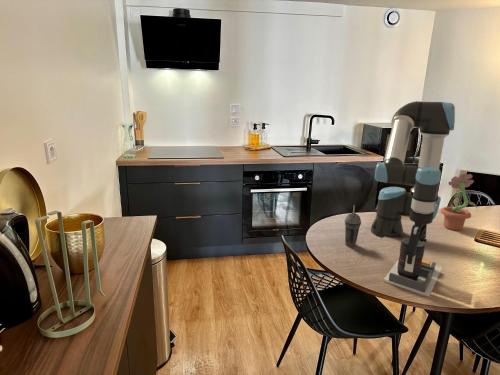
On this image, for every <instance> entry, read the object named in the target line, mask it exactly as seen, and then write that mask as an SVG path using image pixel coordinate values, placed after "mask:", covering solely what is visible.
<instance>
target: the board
mask: <svg viewBox="0 0 500 375" xmlns="http://www.w3.org/2000/svg"><path fill="white" fill-rule="evenodd" d="M398 260H399V258H398V259H397V261H396V262H395V263H394V265H393V266H392V267H391V269H390V270H389V272H387V274H386V276H385V277H384V278H383V282H384V283H387V284H390V285H394V286H396V287H399V288H402V289H405V290H408V291H411V292H413V293H417V294H418V295H419V294H420V295H422V296H424V297H428V298H430V297H431V295H432V293H433V289H434V286H436V282H437V280H438V278H439V276H440V274H441V271H442V269H443V267H442V266H439V265H436V264H437V263H436V262H435V261H432V263H431V264H430V266H429V265H425V264H422V263H421V270H420V274H419V277H418V278H417V281H415V280H412V279H409V278H406V277H403V276H400V275H398V262H399V261H398Z"/></svg>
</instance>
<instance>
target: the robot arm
mask: <svg viewBox="0 0 500 375" xmlns="http://www.w3.org/2000/svg"><path fill="white" fill-rule="evenodd" d="M455 106H456V105H454V103H452V102H445V101H417V100H416V101H411V102H408V103H406V104H405V105H403V106H401V107H399V109H398V110H397V111H396V112H395V113H394V114H393V116H392V118H391V121H390V127H391V130H390V135H389V139H388V143H387V148H386V150H385V154H384V159H383V162H377V164H376V166H375V171H374V180H375V181H377V182H381V183H385V184H394V185H402V186H409V187H410V186H411V187H412V188H410V192H407V190H406V188H404V187H399V186H389V187H384V188H382V189H381V190H380V191H379V195H378V198H377V199H378V200H377V201H378V202H377V208H376V209H377V210H376V216H375V218H374V220H373V222H372V223H371V227H370V232H371V233H372V234H373V235H375V236H377V237H380V238H384V237H387V238H402V237H403V235H404V229H403V228H404V227H403V223H402V217H408V218H409V220H410V221H411V222H413V223H414V224H412V227H411V231H410V237H409V238H410V239H409V243H408V247H407V251H406V252H405V253H404V254H406V255H407V256H406V262H405V268H404V270H405V271H409V272H413V267H414V261H415V256H416V255H415V253H416V249H417V246H418V242H419V241H422V242H423V243H424V244H425V243H427V225H429V224H432V223H433V220H434V219H435V218H436V216H437V214H438V210H439V207H440V204H441V200H442V199H441V197H440V196H439V186H440V182H441V174H442V172H441V170H440V166H441V159H442V155H443V154H442V153H443V148H444V141H445V138H447V137H448V136H449V135H450V132H451V131H454V130H455V123H456V120H455V119H456V110H455V109H456V107H455ZM413 129H420V131H419V133H420V134H421V136H422V140H421V147H420V153H419V160H418V164H417V165H418V166H415V165H414V166H413V165H406V164H405V160H406V156H407V155H406V154H407V150H408V145H409V139H410V135H411V131H412V130H413Z"/></svg>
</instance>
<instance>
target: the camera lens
mask: <svg viewBox="0 0 500 375" xmlns="http://www.w3.org/2000/svg"><path fill="white" fill-rule="evenodd" d="M409 239H410V237H406V238H402V240H401V242H400V247H399V256H398V259H399V260H398V259H397V261H399V262H398V275H400V276H403V277H406V278H409V279H412V280H415V281H417V278H418V277H419V274H420V270H421V263H422V259H424V255H425V254H424V253H425V248H426V247H425V246H426V245H425V242H424V241H423V242H424V243H423V242H422V241H419V242H418V246H417V249H416V253H415V255H416V256H415V261H414V267H413V272H409V271H405V270H404V268H405V262H406V256H407V255H406V254H404V253H405V252H406V251H407V247H408V243H409Z"/></svg>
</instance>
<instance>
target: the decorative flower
mask: <svg viewBox="0 0 500 375" xmlns="http://www.w3.org/2000/svg"><path fill="white" fill-rule="evenodd" d="M472 178H473V175H472V174H471V173H469V174H467V173H461V174H459V176H456V175H455V176H453V177H452V178H451V179H450V181H448V186H451V188H452V189H460V191H461V192H458V193H457V194H456V193H455V194H454V196H453V198H459V197H460V196H461V195H462V199H463V204H462V205H455V206H444V207H442V208H441V209H440V213H441V214H442V215H443V226H444V227H445V229H448V230H452V231H461V230H462V229H463V228H464V225H465V222H466V220H468V219H471V217H472V213H471V212H470V211H469V210H467V209H465V208H467V206H468V205H471V206H472V207H473V206H474V207H476V206H477V205H476V204H475V203H474V202H473V201H469V198H468V195H467V193H466V188H468V187H470V186H471V185H473V183H474V182H475V181H474V179H472Z"/></svg>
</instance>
